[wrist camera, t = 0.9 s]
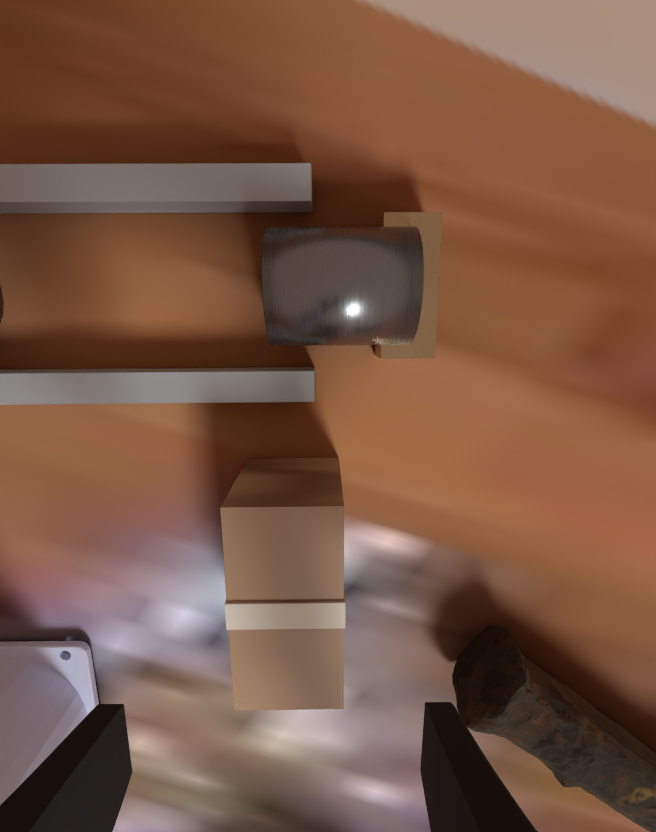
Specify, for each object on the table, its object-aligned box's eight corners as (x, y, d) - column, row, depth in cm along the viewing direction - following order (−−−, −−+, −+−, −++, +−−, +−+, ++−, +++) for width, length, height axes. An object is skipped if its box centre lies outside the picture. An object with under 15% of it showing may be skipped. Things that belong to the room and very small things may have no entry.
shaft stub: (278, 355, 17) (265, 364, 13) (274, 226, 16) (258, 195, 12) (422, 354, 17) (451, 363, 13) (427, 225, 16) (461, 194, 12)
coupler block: (255, 616, 20) (232, 713, 15) (246, 458, 18) (217, 508, 13) (339, 614, 20) (345, 711, 15) (339, 457, 18) (345, 507, 13)
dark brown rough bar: (436, 663, 21) (467, 757, 16) (493, 610, 20) (541, 694, 16) (674, 838, 24) (756, 959, 19) (730, 796, 23) (829, 913, 19)
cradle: (-17, 398, 17) (-48, 404, 16) (-58, 179, 16) (-98, 164, 14) (315, 395, 18) (314, 401, 16) (312, 177, 16) (310, 162, 14)
